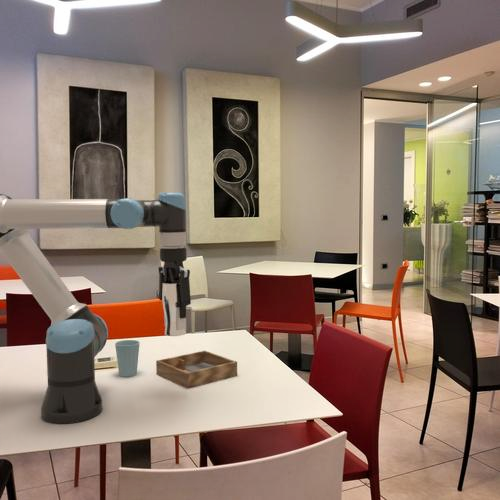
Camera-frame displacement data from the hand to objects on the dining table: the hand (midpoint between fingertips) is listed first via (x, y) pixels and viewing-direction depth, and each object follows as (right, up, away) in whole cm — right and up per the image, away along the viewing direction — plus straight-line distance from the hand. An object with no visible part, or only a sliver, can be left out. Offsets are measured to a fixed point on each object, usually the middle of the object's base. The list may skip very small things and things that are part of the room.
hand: (175, 327), depth 149 cm
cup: (-18, -18, +18) cm, 31 cm away
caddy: (+4, -18, +18) cm, 25 cm away
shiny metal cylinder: (0, -2, 0) cm, 2 cm away
